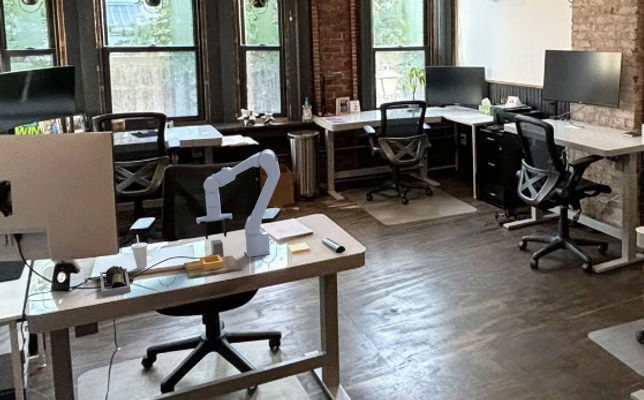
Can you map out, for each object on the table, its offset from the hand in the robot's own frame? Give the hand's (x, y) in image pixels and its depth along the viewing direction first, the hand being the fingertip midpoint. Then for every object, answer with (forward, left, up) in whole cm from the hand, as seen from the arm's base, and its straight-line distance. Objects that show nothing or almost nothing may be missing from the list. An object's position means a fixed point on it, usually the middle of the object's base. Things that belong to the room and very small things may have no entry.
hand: (216, 237), depth 266 cm
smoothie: (+31, +1, -8) cm, 32 cm away
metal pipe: (+41, +15, -8) cm, 45 cm away
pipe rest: (+42, +15, -8) cm, 45 cm away
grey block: (0, 0, -8) cm, 8 cm away
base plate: (+5, +14, -8) cm, 17 cm away
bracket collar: (+8, +14, -7) cm, 17 cm away
